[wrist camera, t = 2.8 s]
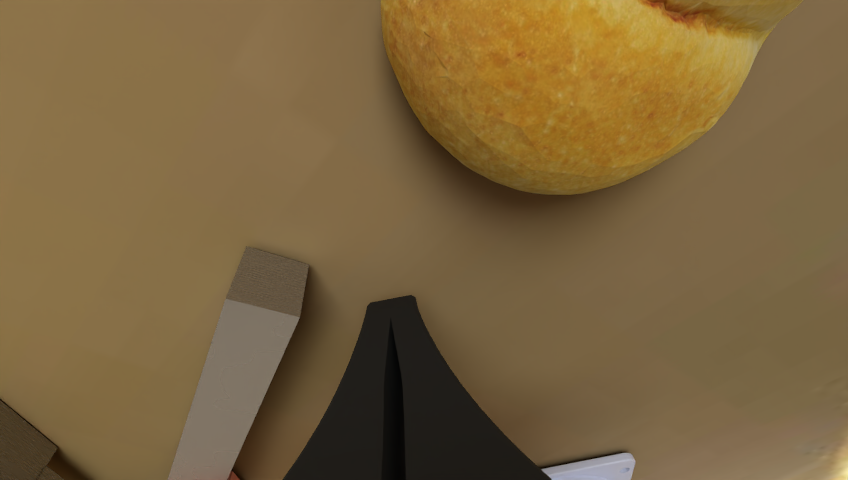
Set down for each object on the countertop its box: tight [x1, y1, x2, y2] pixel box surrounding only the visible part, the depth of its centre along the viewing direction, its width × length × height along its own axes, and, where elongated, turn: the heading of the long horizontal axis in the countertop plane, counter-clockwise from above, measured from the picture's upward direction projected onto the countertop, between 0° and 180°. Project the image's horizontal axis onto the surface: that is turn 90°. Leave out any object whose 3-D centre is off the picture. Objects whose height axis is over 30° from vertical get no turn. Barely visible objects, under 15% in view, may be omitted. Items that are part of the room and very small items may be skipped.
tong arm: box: [168, 246, 309, 480], centre depth 15 cm, size 14×2×2 cm, turn 154°
